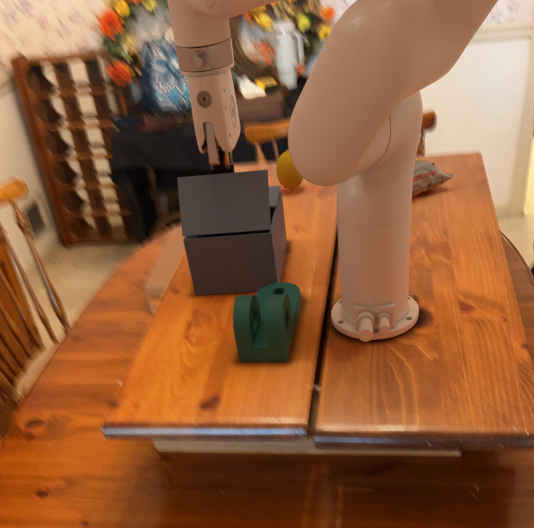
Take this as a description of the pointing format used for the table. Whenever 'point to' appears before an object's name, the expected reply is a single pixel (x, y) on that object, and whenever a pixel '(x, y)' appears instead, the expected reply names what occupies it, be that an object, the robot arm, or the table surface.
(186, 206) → the carton flap
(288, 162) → the lemon
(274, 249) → the carton
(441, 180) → the packaged food
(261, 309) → the bracket
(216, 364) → the table surface
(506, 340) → the table surface
